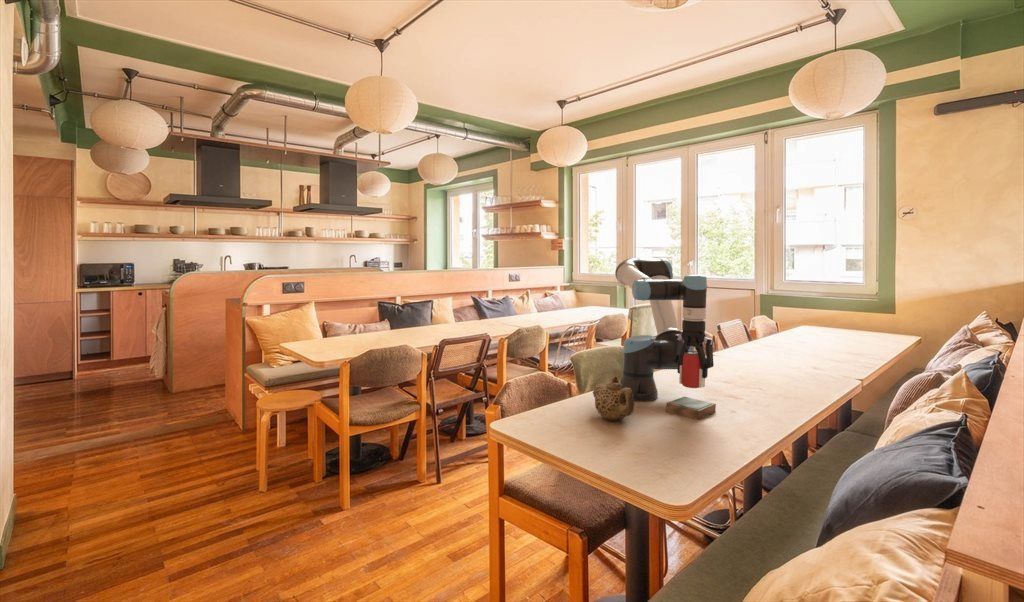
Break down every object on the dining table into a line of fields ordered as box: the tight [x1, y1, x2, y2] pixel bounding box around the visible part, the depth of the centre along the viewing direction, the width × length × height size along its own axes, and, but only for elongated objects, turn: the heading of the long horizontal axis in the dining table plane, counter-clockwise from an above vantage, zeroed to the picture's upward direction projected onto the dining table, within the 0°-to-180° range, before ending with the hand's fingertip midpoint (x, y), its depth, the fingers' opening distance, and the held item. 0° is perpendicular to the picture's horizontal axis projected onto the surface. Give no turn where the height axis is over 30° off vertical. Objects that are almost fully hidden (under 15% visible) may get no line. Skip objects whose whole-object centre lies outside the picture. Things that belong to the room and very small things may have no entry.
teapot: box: [592, 375, 635, 422], centre depth 164 cm, size 21×12×15 cm, turn 23°
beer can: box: [681, 350, 702, 389], centre depth 172 cm, size 7×7×12 cm
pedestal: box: [666, 396, 717, 421], centre depth 173 cm, size 12×12×3 cm
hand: (691, 384), depth 172 cm, fingers closed on beer can, 7 cm apart
